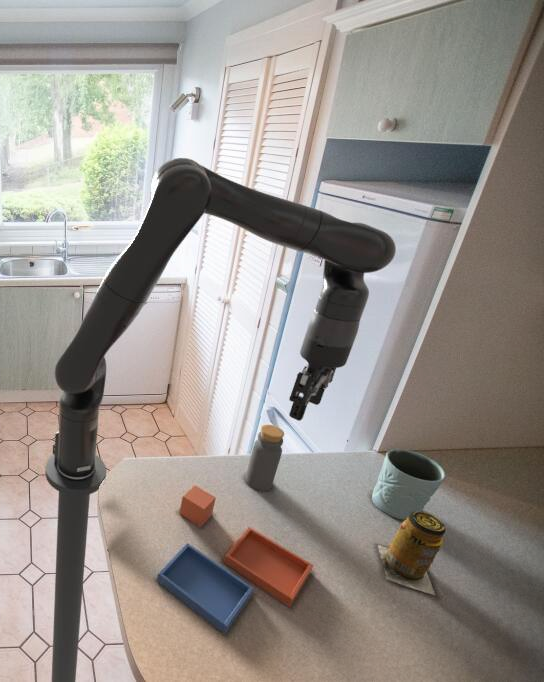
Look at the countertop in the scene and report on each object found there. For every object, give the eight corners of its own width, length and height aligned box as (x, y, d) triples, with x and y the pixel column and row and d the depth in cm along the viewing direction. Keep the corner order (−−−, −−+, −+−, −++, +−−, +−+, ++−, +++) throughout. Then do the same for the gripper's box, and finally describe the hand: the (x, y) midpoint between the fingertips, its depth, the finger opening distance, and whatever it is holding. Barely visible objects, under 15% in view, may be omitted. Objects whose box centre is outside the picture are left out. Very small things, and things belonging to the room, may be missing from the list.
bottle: (246, 488, 105) (260, 436, 99) (243, 471, 111) (256, 421, 104) (273, 493, 104) (290, 440, 98) (269, 476, 109) (284, 425, 103)
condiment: (421, 559, 88) (446, 514, 83) (434, 596, 81) (462, 549, 76) (377, 545, 91) (397, 501, 86) (386, 580, 84) (409, 534, 79)
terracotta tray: (223, 562, 88) (225, 555, 87) (246, 533, 94) (248, 526, 93) (289, 607, 79) (292, 599, 79) (310, 572, 86) (313, 565, 85)
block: (179, 513, 99) (182, 496, 96) (191, 501, 102) (194, 484, 99) (200, 527, 95) (204, 509, 93) (212, 514, 98) (216, 497, 96)
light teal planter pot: (391, 486, 106) (409, 445, 101) (436, 518, 97) (459, 475, 92) (357, 494, 104) (374, 453, 99) (400, 529, 95) (421, 485, 90)
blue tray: (156, 581, 84) (158, 573, 83) (185, 549, 90) (187, 542, 89) (224, 634, 75) (227, 626, 74) (251, 595, 81) (254, 588, 80)
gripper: (322, 320, 89) (299, 390, 96) (291, 339, 81) (268, 414, 88) (366, 333, 84) (338, 406, 91) (338, 355, 76) (309, 433, 83)
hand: (304, 410), depth 89 cm, fingers open, 8 cm apart
